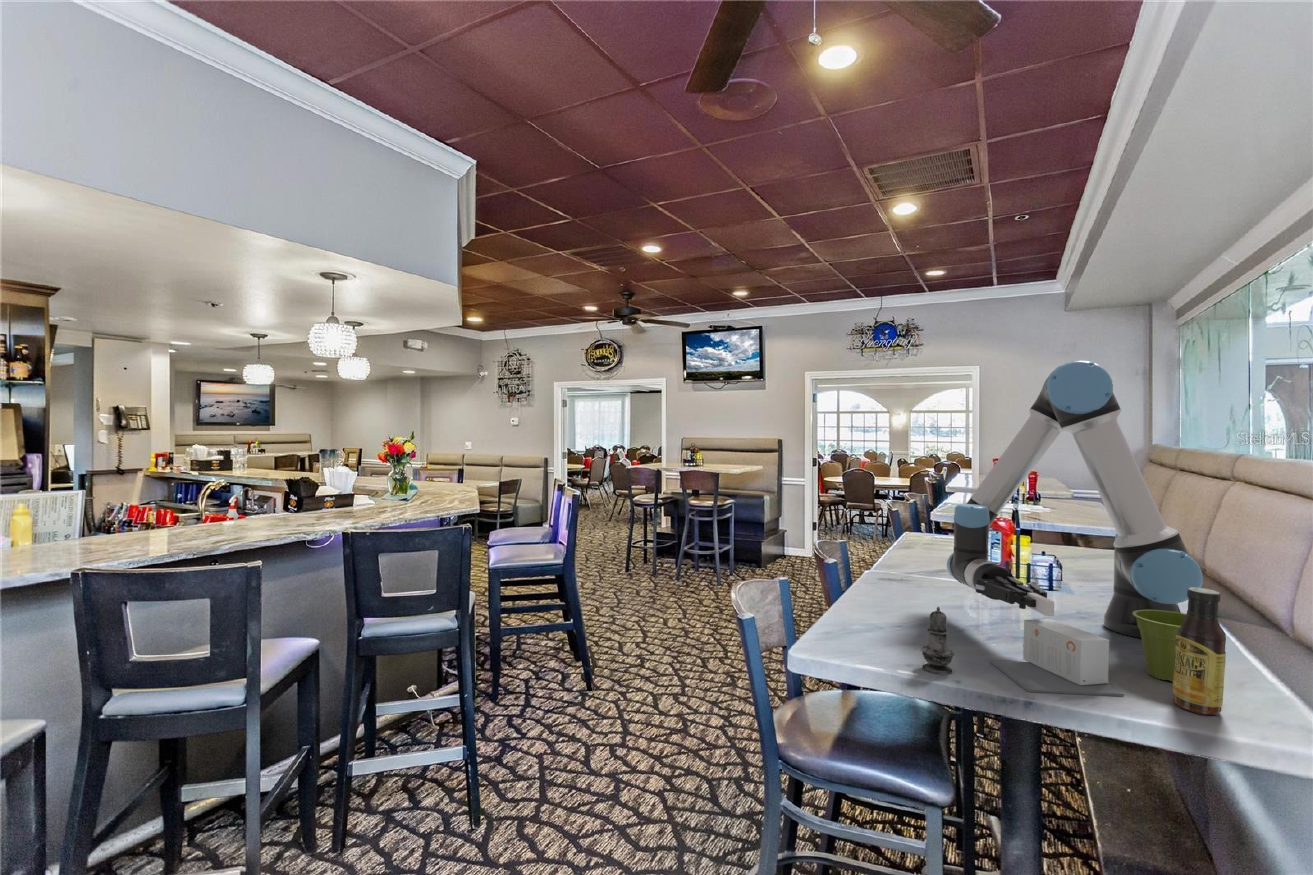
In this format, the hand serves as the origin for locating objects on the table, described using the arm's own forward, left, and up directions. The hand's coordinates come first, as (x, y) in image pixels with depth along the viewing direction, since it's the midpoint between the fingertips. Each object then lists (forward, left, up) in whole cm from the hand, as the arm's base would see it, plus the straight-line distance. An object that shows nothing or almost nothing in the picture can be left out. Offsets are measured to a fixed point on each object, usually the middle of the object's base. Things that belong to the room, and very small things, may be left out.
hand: (1049, 608), depth 114 cm
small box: (-2, -8, -8) cm, 11 cm away
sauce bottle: (-17, +12, -13) cm, 24 cm away
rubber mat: (0, +1, -12) cm, 13 cm away
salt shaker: (+20, -1, -13) cm, 24 cm away
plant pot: (-23, -2, -13) cm, 26 cm away
